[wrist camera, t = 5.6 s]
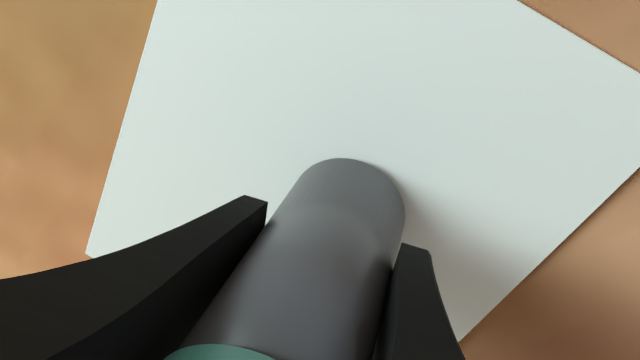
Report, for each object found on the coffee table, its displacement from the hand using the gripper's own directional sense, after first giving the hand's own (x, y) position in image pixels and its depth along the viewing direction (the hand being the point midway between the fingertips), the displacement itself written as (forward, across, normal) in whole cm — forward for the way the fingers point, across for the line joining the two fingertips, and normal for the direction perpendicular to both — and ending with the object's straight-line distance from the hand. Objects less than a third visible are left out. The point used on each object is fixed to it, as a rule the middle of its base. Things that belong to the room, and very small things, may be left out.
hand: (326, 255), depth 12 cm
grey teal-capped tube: (+2, 0, 0) cm, 2 cm away
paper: (+3, +1, 0) cm, 3 cm away
